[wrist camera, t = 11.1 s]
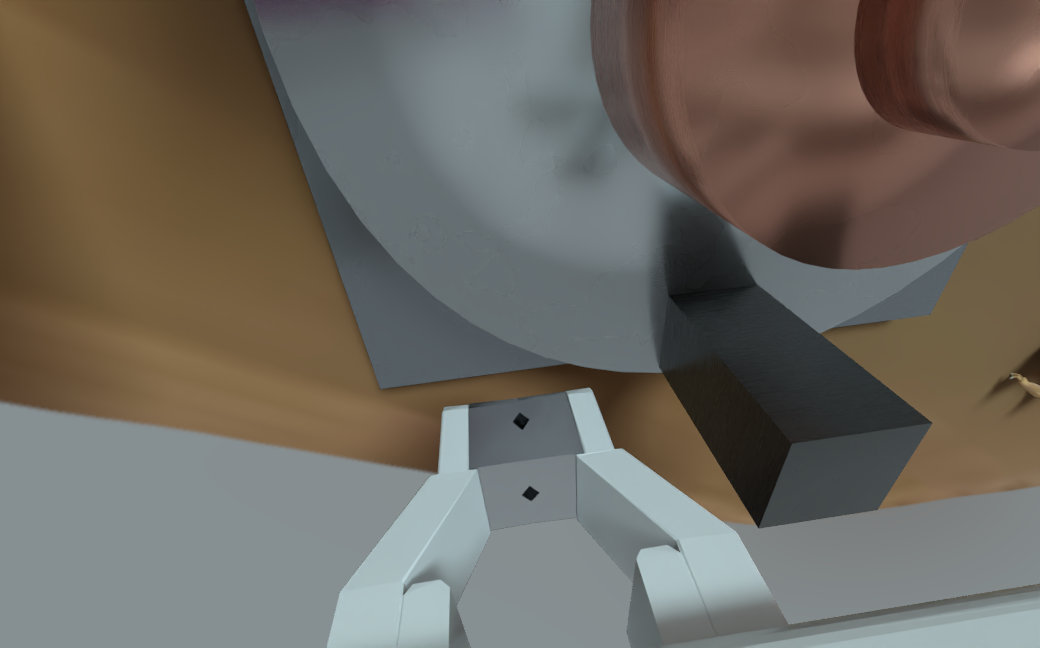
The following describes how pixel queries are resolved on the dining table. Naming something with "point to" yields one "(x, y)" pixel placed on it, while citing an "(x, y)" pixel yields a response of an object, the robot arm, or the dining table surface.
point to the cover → (832, 117)
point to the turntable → (589, 237)
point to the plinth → (434, 326)
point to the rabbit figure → (1027, 385)
